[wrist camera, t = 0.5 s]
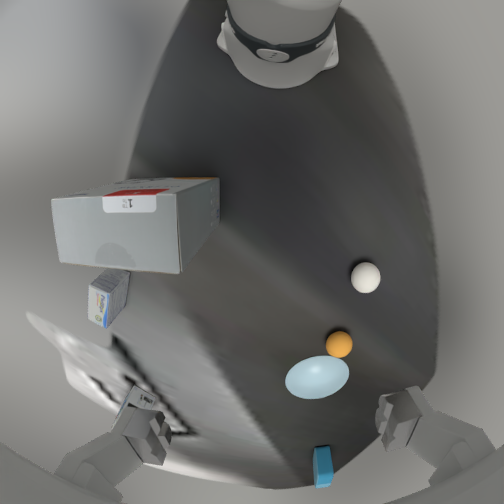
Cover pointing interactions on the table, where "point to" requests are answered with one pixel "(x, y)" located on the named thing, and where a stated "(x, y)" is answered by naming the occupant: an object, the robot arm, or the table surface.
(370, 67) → the table surface
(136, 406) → the light bulb box
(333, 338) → the orange ball
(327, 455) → the data package
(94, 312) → the medicine box
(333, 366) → the blue mark
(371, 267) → the white ball
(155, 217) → the hard drive box
